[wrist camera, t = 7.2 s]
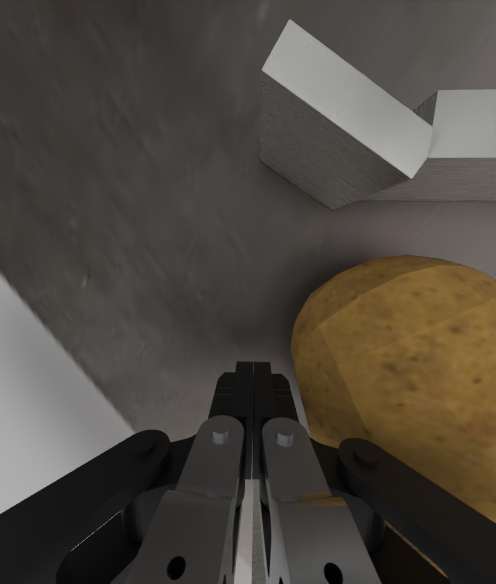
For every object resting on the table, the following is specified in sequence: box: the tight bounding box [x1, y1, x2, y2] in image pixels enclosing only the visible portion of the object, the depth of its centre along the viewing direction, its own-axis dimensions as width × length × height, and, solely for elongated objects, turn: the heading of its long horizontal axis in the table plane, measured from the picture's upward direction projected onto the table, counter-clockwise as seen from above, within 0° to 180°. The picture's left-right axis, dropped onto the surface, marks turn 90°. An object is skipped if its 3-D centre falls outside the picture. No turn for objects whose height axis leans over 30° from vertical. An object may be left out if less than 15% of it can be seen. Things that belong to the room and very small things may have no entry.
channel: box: [252, 19, 496, 584], centre depth 11 cm, size 22×15×8 cm
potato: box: [290, 255, 496, 523], centre depth 10 cm, size 10×13×9 cm
